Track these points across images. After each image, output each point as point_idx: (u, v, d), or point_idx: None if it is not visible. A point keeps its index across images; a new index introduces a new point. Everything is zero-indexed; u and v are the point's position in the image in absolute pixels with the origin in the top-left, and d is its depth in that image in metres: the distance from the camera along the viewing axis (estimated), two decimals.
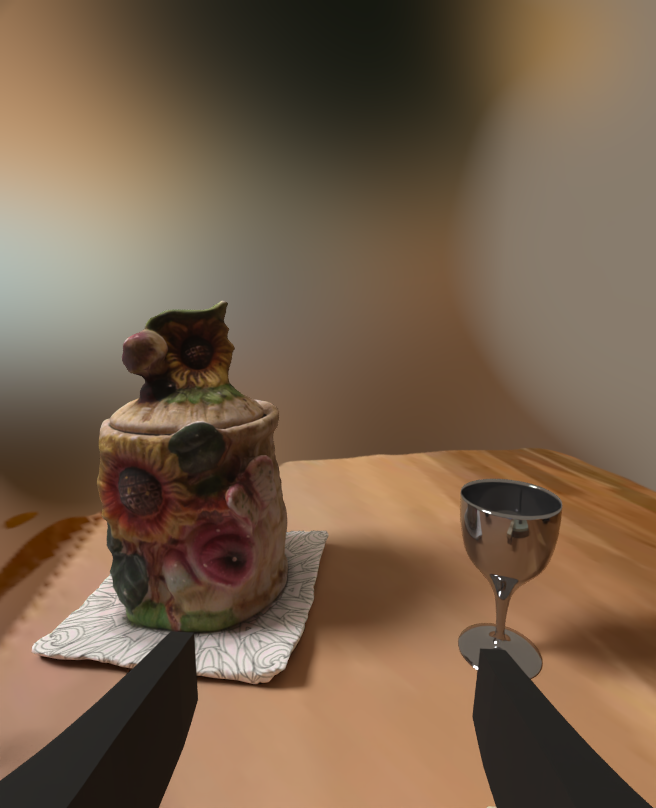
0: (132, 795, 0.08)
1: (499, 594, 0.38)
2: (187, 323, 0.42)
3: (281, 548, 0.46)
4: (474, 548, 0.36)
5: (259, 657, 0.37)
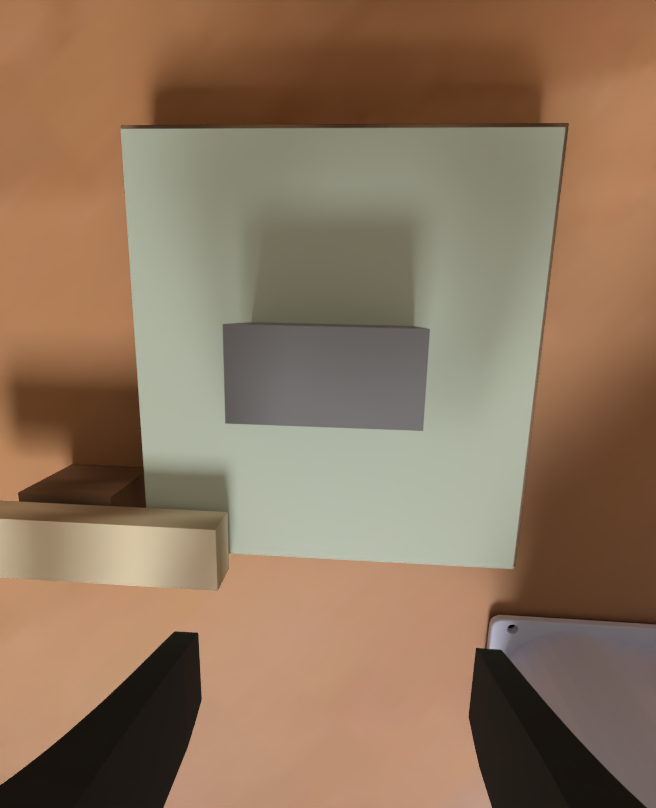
0: (137, 796, 0.08)
1: None
2: None
3: None
4: None
5: None
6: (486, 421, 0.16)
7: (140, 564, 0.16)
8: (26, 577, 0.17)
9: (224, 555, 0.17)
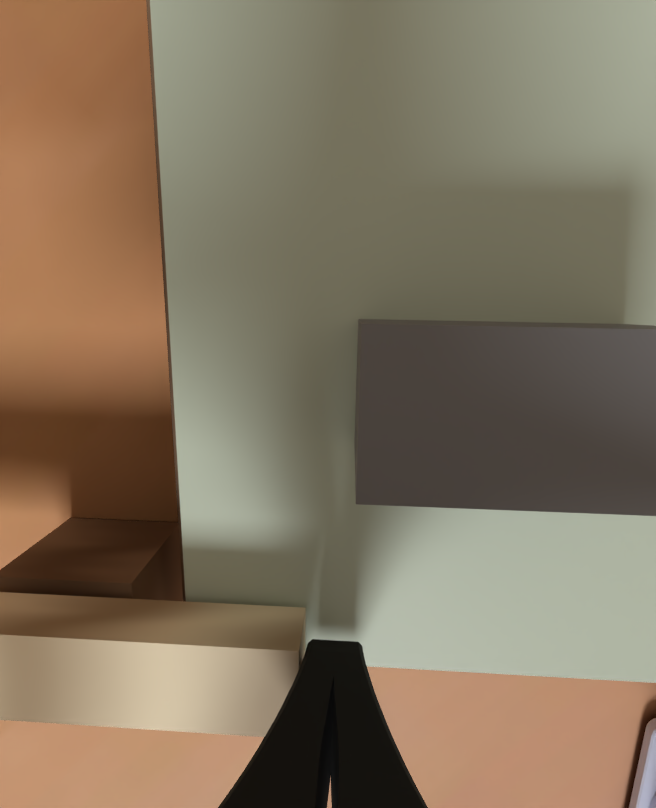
0: None
1: None
2: None
3: None
4: None
5: None
6: None
7: (178, 699, 0.10)
8: None
9: None
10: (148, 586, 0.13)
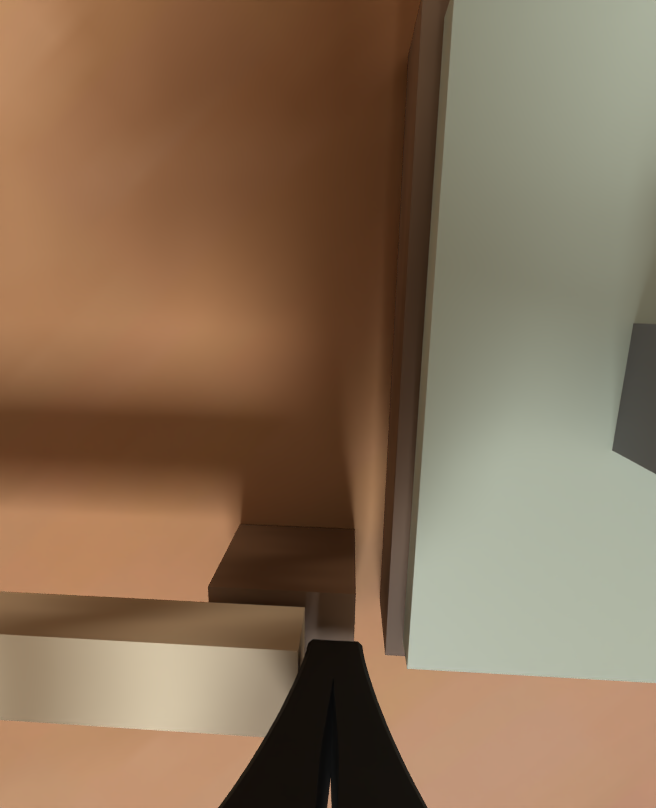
0: None
1: None
2: None
3: None
4: None
5: None
6: None
7: (176, 700, 0.10)
8: None
9: None
10: None
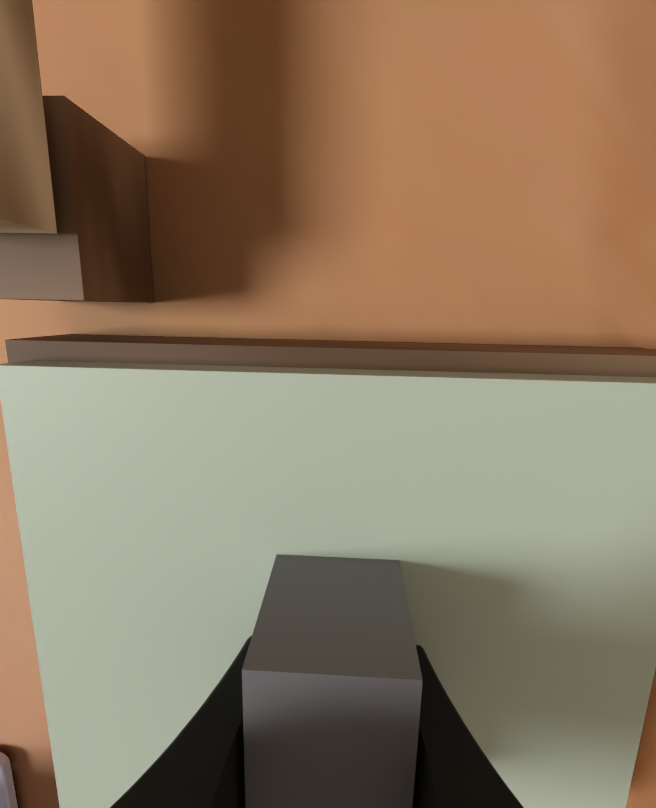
0: (238, 803, 0.08)
1: None
2: None
3: None
4: None
5: None
6: None
7: None
8: None
9: None
10: (76, 300, 0.11)
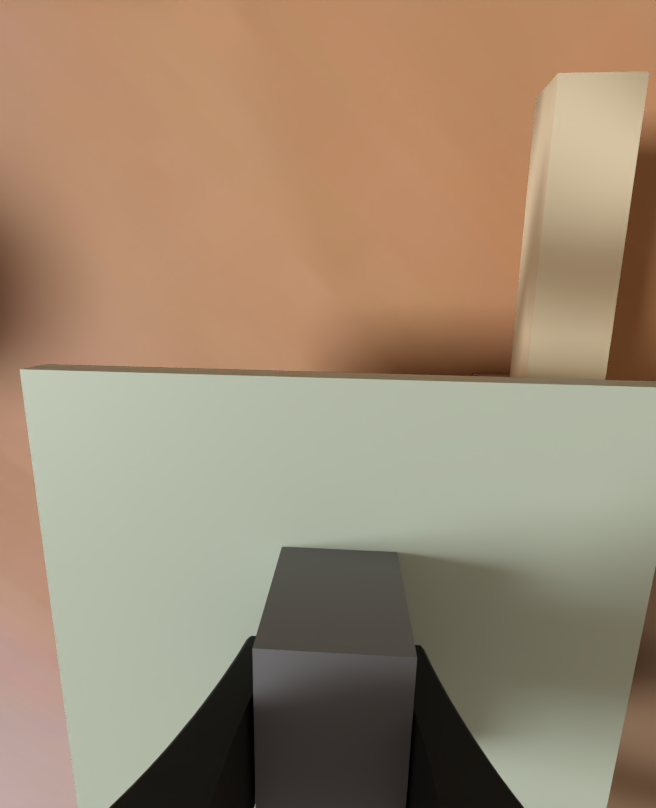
0: (237, 803, 0.08)
1: None
2: None
3: None
4: None
5: None
6: None
7: None
8: (542, 238, 0.13)
9: None
10: None
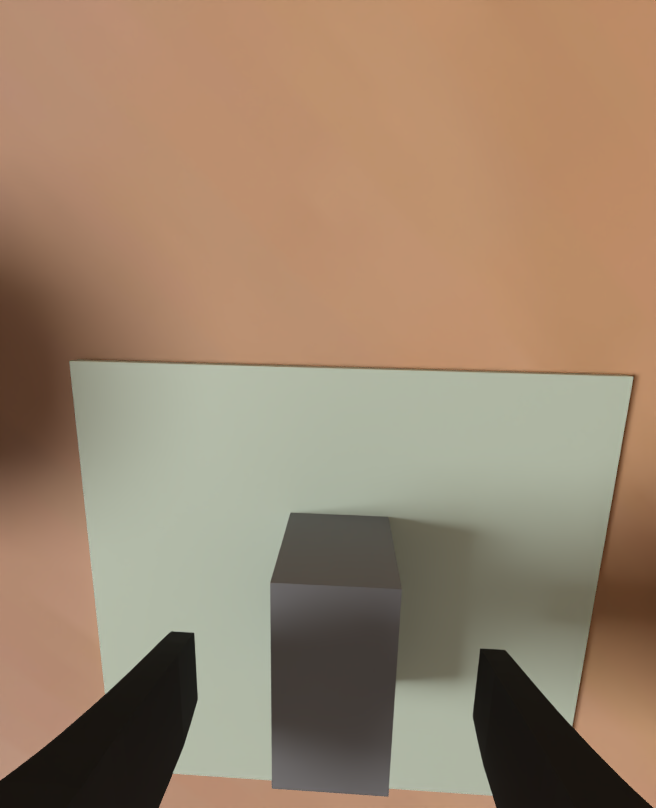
0: (132, 795, 0.08)
1: None
2: None
3: None
4: None
5: None
6: None
7: None
8: None
9: None
10: None
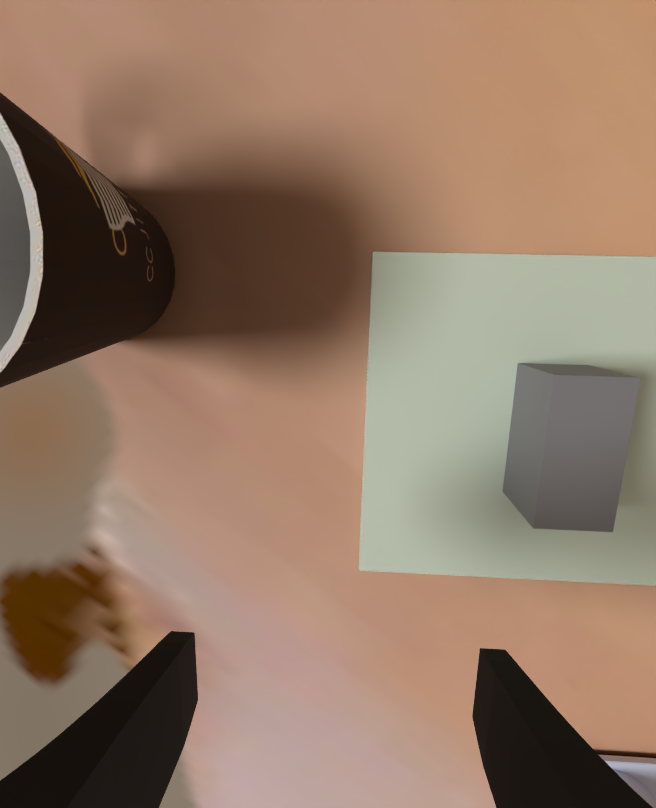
0: (132, 796, 0.08)
1: None
2: None
3: None
4: None
5: None
6: (485, 547, 0.21)
7: None
8: None
9: None
10: None
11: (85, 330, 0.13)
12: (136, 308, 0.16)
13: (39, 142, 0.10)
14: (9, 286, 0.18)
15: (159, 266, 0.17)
